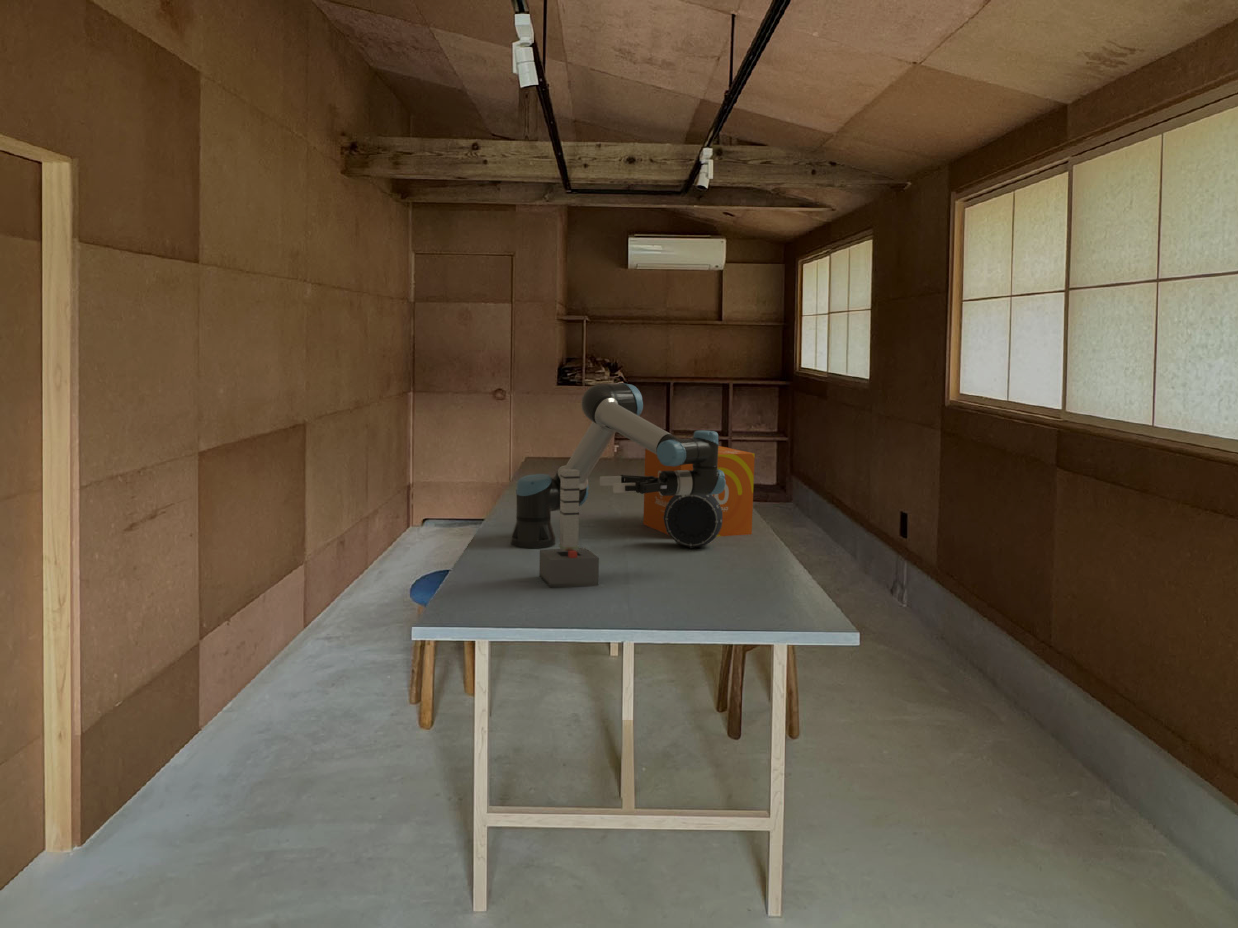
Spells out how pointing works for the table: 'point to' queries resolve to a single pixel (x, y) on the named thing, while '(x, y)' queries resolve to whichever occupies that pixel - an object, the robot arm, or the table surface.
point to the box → (732, 499)
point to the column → (569, 509)
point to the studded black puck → (693, 519)
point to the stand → (569, 568)
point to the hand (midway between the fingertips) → (606, 484)
